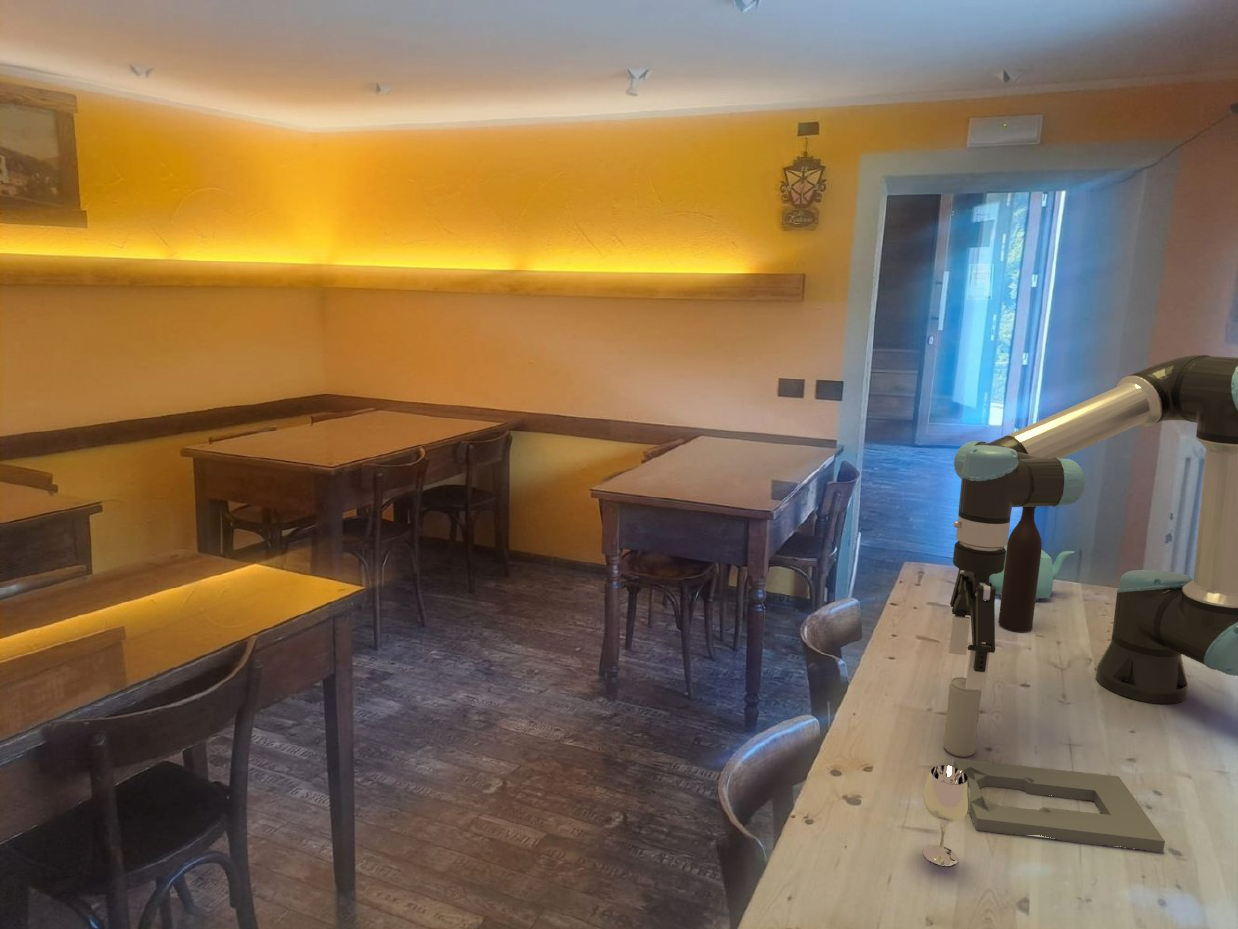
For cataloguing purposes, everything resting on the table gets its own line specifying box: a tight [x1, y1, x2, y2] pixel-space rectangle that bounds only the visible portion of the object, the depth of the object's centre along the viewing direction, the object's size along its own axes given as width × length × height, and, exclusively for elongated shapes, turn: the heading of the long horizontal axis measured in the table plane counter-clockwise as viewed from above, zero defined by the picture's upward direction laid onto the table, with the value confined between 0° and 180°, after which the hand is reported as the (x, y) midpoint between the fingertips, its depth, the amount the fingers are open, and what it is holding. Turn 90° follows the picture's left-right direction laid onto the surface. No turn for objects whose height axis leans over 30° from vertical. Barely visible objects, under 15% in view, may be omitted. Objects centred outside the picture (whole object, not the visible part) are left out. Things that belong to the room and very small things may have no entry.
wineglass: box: [922, 764, 970, 866], centre depth 111 cm, size 6×6×12 cm
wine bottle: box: [998, 507, 1043, 633], centre depth 190 cm, size 7×7×30 cm
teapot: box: [989, 545, 1076, 602], centre depth 214 cm, size 18×16×14 cm
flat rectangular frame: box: [953, 757, 1166, 854], centre depth 124 cm, size 24×16×2 cm, turn 79°
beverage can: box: [943, 676, 982, 758], centre depth 138 cm, size 5×5×12 cm
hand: (965, 670), depth 136 cm, fingers open, 13 cm apart
